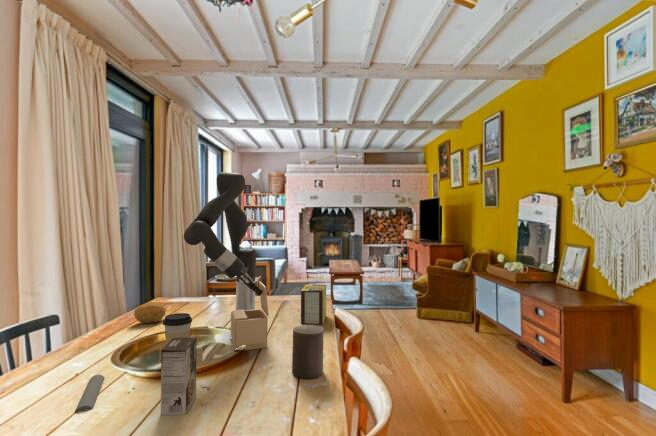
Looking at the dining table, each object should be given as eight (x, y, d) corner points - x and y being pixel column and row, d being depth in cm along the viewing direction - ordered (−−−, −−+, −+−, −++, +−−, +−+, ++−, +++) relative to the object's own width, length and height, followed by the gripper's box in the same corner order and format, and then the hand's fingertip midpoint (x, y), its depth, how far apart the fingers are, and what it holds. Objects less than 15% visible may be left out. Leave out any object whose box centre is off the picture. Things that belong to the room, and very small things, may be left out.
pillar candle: (299, 382, 105) (300, 331, 106) (287, 369, 114) (288, 322, 114) (328, 376, 110) (329, 327, 110) (314, 364, 119) (315, 319, 119)
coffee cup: (198, 357, 123) (198, 314, 123) (176, 367, 115) (176, 321, 115) (178, 353, 127) (178, 311, 127) (155, 362, 119) (155, 317, 119)
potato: (168, 302, 165) (162, 297, 172) (136, 308, 157) (131, 302, 164) (168, 322, 166) (163, 316, 173) (137, 329, 158) (132, 322, 165)
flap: (261, 307, 147) (258, 281, 146) (262, 307, 147) (260, 281, 147) (267, 316, 134) (264, 287, 134) (269, 316, 134) (266, 287, 134)
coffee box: (172, 397, 96) (173, 337, 96) (197, 396, 97) (197, 336, 97) (159, 415, 87) (159, 349, 87) (186, 414, 87) (187, 348, 88)
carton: (230, 338, 143) (230, 309, 143) (260, 335, 147) (260, 307, 147) (234, 351, 129) (234, 319, 129) (267, 347, 133) (267, 316, 133)
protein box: (326, 315, 179) (326, 284, 179) (322, 324, 163) (323, 290, 163) (305, 315, 180) (305, 284, 180) (300, 323, 164) (300, 290, 164)
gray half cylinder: (105, 379, 108) (105, 373, 108) (93, 411, 90) (93, 404, 90) (88, 382, 106) (88, 375, 106) (73, 414, 88) (73, 407, 88)
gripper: (237, 258, 130) (270, 289, 135) (234, 254, 143) (264, 283, 147) (222, 273, 129) (256, 304, 133) (220, 268, 141) (251, 297, 145)
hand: (260, 293), depth 140 cm, fingers closed
